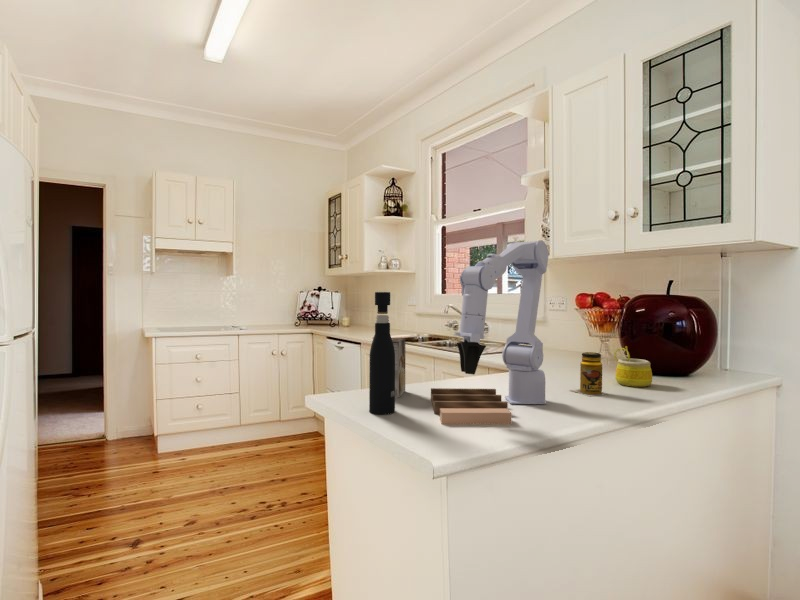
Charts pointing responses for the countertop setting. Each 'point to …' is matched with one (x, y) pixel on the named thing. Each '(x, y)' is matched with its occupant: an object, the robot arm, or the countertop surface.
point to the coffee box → (399, 366)
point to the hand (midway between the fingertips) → (467, 373)
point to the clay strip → (475, 416)
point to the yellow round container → (632, 371)
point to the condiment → (590, 375)
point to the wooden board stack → (465, 398)
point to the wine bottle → (382, 362)
